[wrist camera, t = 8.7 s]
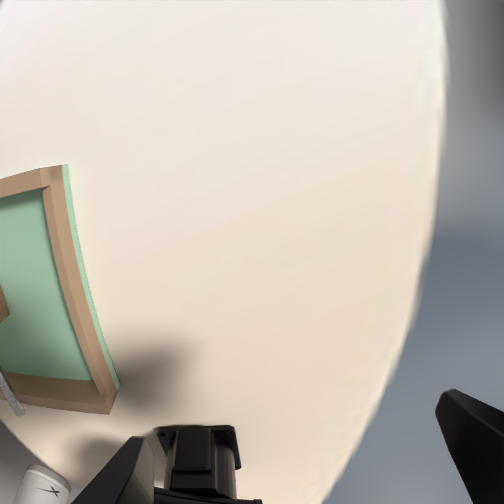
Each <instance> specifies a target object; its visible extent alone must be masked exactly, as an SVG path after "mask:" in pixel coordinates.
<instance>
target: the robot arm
mask: <svg viewBox="0 0 504 504" xmlns="http://www.w3.org/2000/svg"><path fill="white" fill-rule="evenodd" d="M435 414H436V418H437V421H438V423H439V426H440V428H441V431H442V434H443V437H444V439H445V442H446V445H447V447H448V450H449V452H450V455H451V457H452V459H453V461H454V463H455V465H456V467H457V469H458V471H459V474H460V476H461V478H462V480H463V482H464V484H465V486H466V488H467V491H468V493H469V495H470V498H471V500H472V502H473V504H504V412H503V411H500V410H498V409H496V408H494V407H492V406H490V405H487V404H486V403H483V402H481V401H479V400H477V399H475V398H473V397H471V396H469V395H467V394H464V393H462V392H460V391H458V390H456V389H449V390H447V391H444V392H443V393H442V394H441V396H440V399H439V401H438V404H437V406H436V409H435ZM228 431H230V432H228ZM157 436H158V438H159V440H160V443H161V445H162V447H163V450H164V452H165V454H166V456H167V463H166V471H165V479H164V488H158V487H154V454H153V452H152V449H151V447H150V445H149V443H148V441H147V439H146V438H145V437H140V436H132V437H130V438H129V439H128V440H127V442H126V443H125V444H124V445H123V446H122V447H121V448H120V450H119V451H118V452H117V453H116V454H115V455H114V456H113V457H112V459H111V460H110V461H109V462H108V463H107V464H106V465H105V466H104V468H103V469H102V470H101V471H100V472H99V473H98V474H97V475H96V476H95V478H94V479H93V480H92V481H91V482H90V483H89V484H88V485H87V486H86V488H85V489H84V490H83V491H82V492H81V493H80V494H79V495H78V496H77V497H76V498H75V500H74V501H73V502H72V503H71V504H263V503H262V500H260V499H254V500H243V499H237V495H236V479H235V470H238V469H240V468H241V461H240V455H239V450H238V444H237V438H236V432H235V428H234V427H232V426H220V427H196V428H159V429H158V430H157Z"/></svg>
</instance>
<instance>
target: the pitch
mask: <svg viewBox="0 0 504 504" xmlns="http://www.w3.org/2000/svg"><path fill="white" fill-rule="evenodd" d="M0 286H1V289H2V292H3V295H4V299H5V302H6V305H7V308H8V310H9V313H10V315H9V316H8V317H6V318H5V319H4V320H3V321H2V322H1V323H0V365H1V367H2V369H3V371H4V373H5V375H6V377H7V379H8V381H9V383H10V385H11V387H12V389H13V390H14V392H15V394H16V396H17V398H18V399H19V401H20V403H24V404H29V405H35V406H41V407H47V408H54V409H61V410H68V411H77V412H86V413H96V414H110V411H111V408H112V406H113V403H114V400H115V397H116V395H117V392H118V389H119V387H120V383H119V380H118V378H117V375H116V372H115V370H114V367H113V364H112V361H111V358H110V355H109V352H108V349H107V346H106V343H105V340H104V337H103V334H102V331H101V327H100V324H99V321H98V317H97V314H96V310H95V307H94V303H93V299H92V296H91V292H90V288H89V284H88V280H87V276H86V271H85V267H84V263H83V258H82V253H81V248H80V243H79V238H78V233H77V227H76V222H75V216H74V209H73V203H72V196H71V188H70V180H69V171H68V164H66V165H59V166H52V167H45V168H39V169H35V170H31V171H27V172H24V173H20V174H16V175H13V176H9V177H6V178H3V179H0ZM0 399H5V400H7V398H6V397H5V395H4V393H3V391H2V390H1V388H0Z"/></svg>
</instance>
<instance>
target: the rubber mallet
mask: <svg viewBox="0 0 504 504" xmlns="http://www.w3.org/2000/svg"><path fill="white" fill-rule="evenodd" d="M9 315H10V313H9V310H8V308H7V305H6V302H5V299H4V295H3V292H2V289H1V286H0V323H1V322H2V321H3V320H4V319H5V318H6V317H8V316H9ZM0 388H1V390H2V391H3V393H4V395H5V397H6V398H7V400H8V402H9V404H10V405H11V407H12V409H13V410H14V412H15V413H16V415H17V416H22V415H24V414H25V410H24V408H23V406H22V405H21V403H20V401H19V399H18V398H17V396H16V394H15V392H14V390H13V389H12V387H11V385H10V383H9V381H8V379H7V377H6V375H5V373H4V371H3V369H2V367H1V365H0Z"/></svg>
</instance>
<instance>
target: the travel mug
mask: <svg viewBox="0 0 504 504" xmlns="http://www.w3.org/2000/svg"><path fill="white" fill-rule="evenodd" d="M70 491H71V487H70V485H69V483H68V482H67V481H66V480H65V479H64V478H63V477H61V476H60V475H59V474H57V473H56V472H54V471H52V470H50V469H48V468H46V467H44V466H41V465H37V464H31V465H29V466H28V468H27V471H26V474H25V476H24V478H23V480H22V482H21V485H20V487H19V490H18V492H17V494H16V497H15V499H14V502H13V504H67V500H68V497H69V494H70Z"/></svg>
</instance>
